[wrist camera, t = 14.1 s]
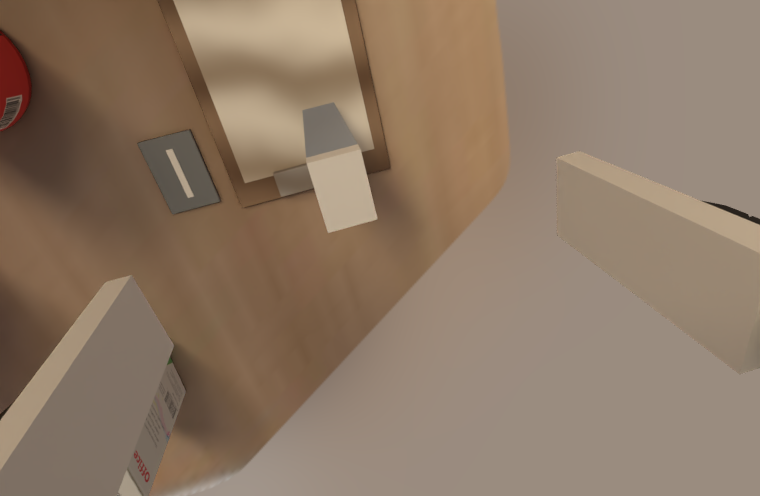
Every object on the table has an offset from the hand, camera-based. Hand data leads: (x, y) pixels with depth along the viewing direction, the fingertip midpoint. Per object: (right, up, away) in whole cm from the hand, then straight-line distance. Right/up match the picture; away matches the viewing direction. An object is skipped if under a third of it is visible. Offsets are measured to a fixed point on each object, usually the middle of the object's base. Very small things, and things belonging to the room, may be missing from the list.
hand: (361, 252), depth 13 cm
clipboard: (-7, +13, +19) cm, 24 cm away
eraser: (-4, +10, +20) cm, 23 cm away
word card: (-15, +6, +21) cm, 26 cm away
